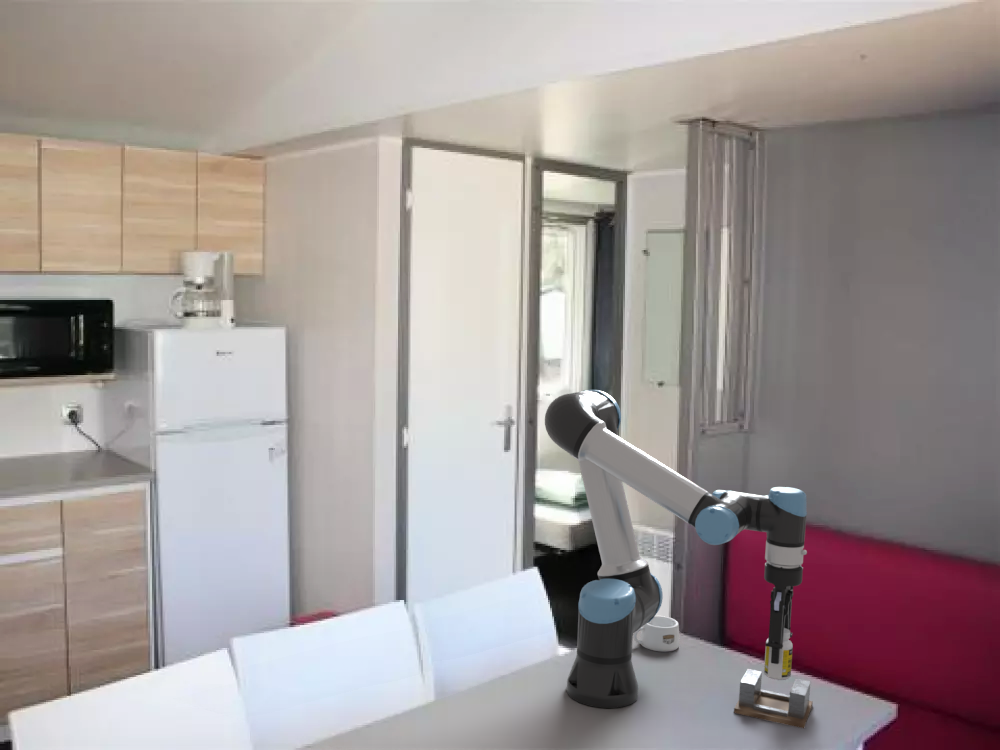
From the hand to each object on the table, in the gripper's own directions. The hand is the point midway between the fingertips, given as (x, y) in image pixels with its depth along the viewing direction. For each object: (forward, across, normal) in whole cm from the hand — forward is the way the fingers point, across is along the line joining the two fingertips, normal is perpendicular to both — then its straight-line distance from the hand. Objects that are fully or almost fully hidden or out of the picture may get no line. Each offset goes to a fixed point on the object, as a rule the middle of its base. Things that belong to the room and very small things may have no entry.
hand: (777, 671), depth 203 cm
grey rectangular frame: (+8, 0, 0) cm, 8 cm away
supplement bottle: (+1, 0, 0) cm, 1 cm away
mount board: (+8, 0, 0) cm, 8 cm away
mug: (+8, +22, +32) cm, 40 cm away
